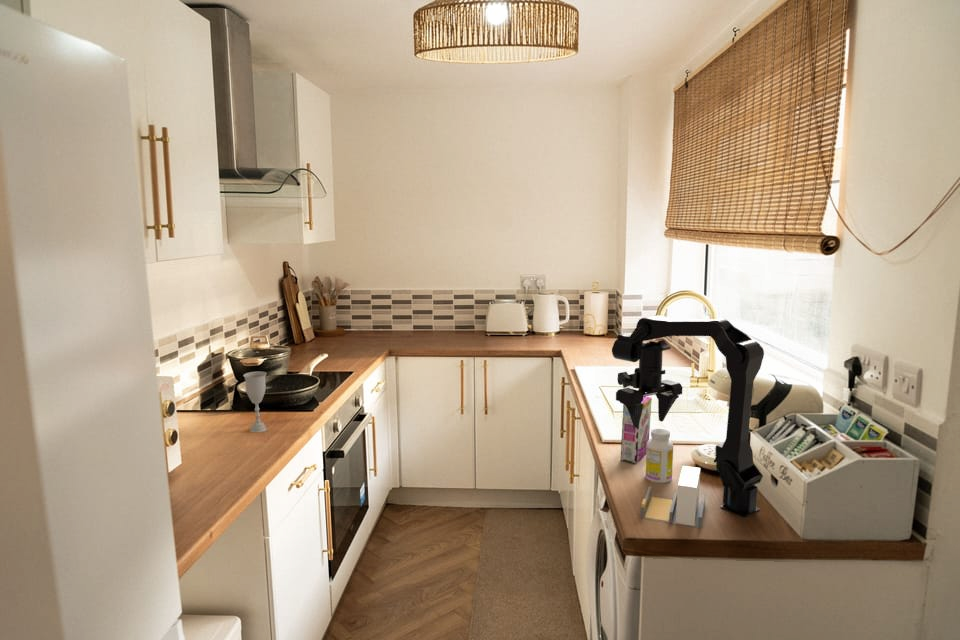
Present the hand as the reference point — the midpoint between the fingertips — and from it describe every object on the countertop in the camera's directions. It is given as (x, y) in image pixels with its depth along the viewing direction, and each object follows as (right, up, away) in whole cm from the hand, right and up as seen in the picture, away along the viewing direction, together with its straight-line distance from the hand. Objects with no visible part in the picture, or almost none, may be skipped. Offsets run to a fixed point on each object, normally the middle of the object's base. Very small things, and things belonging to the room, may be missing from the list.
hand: (648, 424), depth 176 cm
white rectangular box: (+4, -18, -20) cm, 26 cm away
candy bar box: (0, -12, +16) cm, 20 cm away
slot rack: (+1, -18, -18) cm, 25 cm away
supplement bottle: (+3, -15, +1) cm, 15 cm away
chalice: (-113, -8, +38) cm, 120 cm away
